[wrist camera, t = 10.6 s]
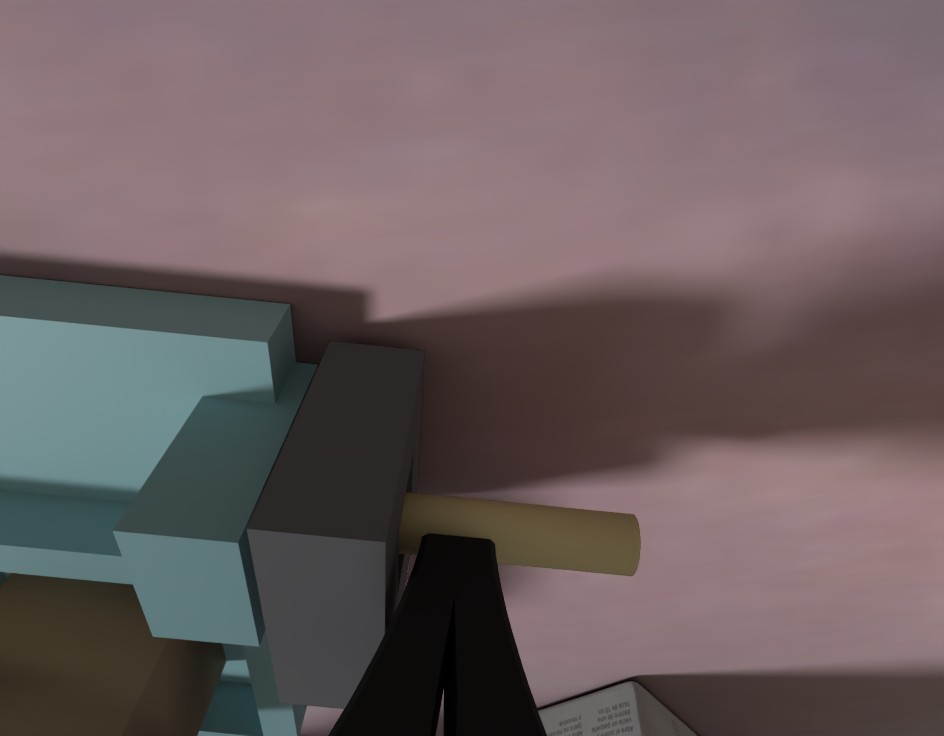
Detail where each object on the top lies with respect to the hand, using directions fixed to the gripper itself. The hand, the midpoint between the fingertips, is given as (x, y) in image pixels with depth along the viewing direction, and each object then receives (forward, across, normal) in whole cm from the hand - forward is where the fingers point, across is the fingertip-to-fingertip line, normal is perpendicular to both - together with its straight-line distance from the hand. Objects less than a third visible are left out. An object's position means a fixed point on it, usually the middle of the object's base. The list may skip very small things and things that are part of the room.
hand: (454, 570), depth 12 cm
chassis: (+4, +5, +4) cm, 7 cm away
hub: (+4, +2, 0) cm, 5 cm away
